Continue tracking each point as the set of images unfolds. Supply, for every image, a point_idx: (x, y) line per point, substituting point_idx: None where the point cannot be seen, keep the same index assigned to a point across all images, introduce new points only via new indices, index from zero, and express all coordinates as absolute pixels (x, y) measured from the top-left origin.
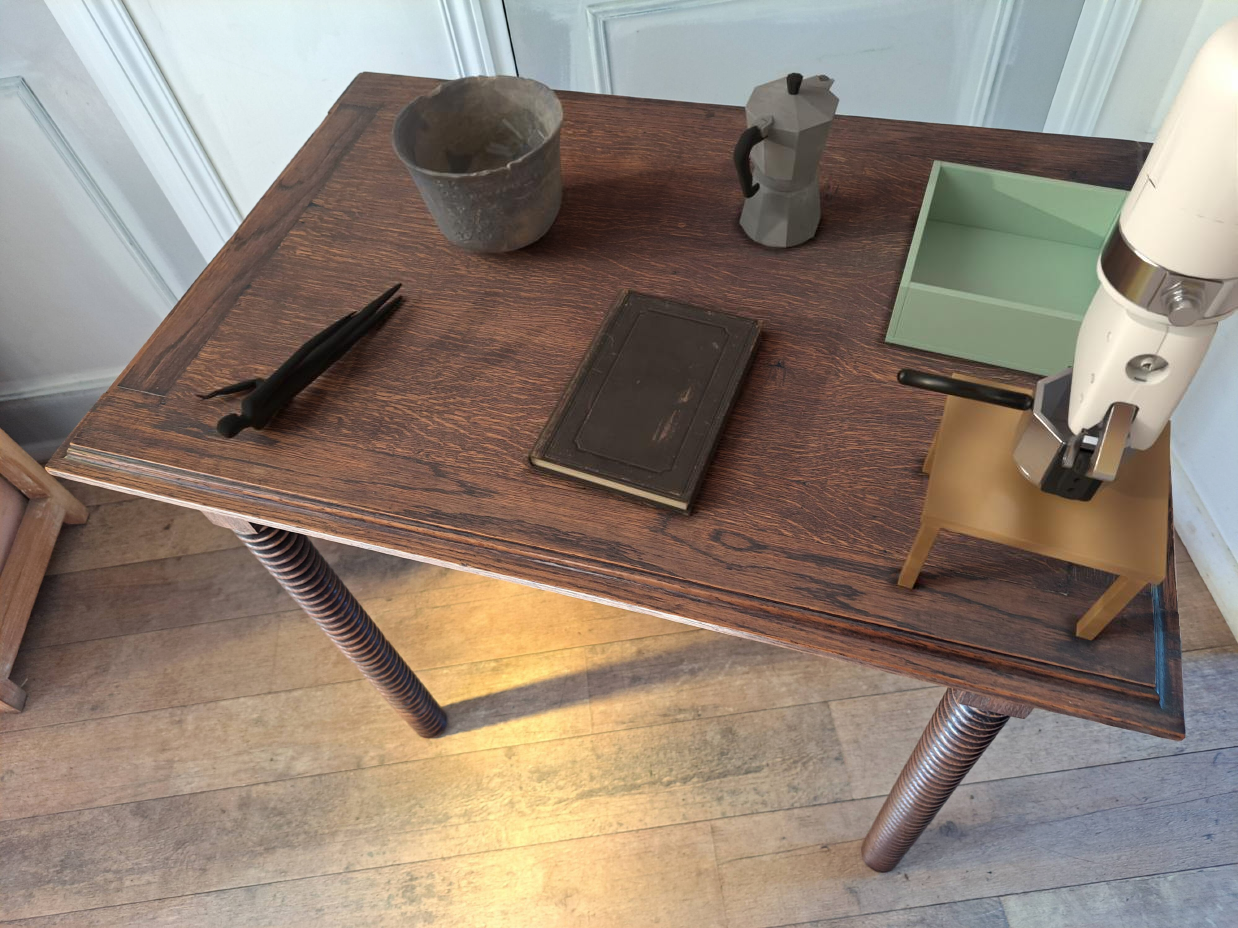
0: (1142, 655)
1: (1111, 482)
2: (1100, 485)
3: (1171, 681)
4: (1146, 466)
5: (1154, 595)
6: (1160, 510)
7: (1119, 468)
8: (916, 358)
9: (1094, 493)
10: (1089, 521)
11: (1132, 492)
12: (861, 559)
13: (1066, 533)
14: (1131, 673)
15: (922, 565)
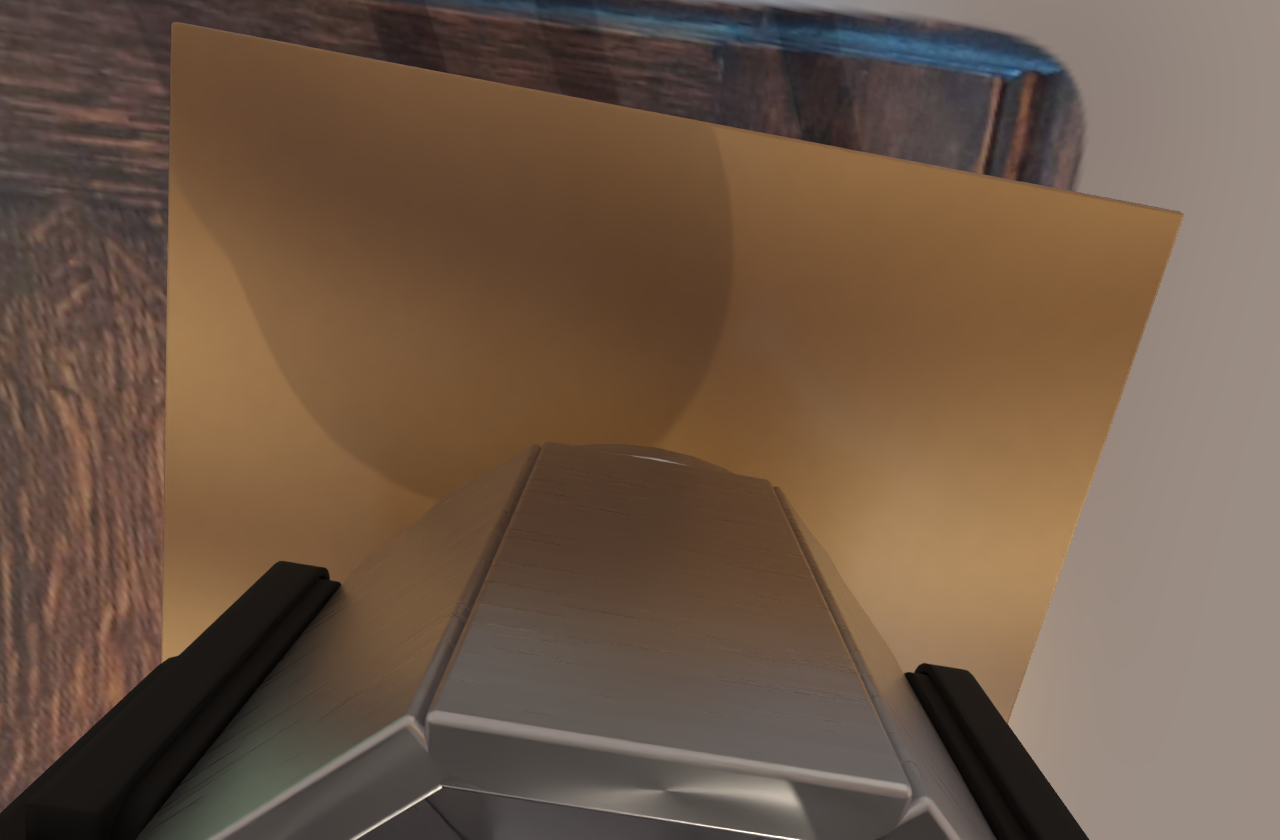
0: (912, 98)
1: (803, 522)
2: (858, 606)
3: (984, 28)
4: (531, 210)
5: (722, 34)
6: (803, 180)
7: (850, 611)
8: (19, 634)
9: (1004, 721)
10: (891, 512)
11: (705, 302)
12: None
13: (959, 608)
14: (966, 136)
15: None
